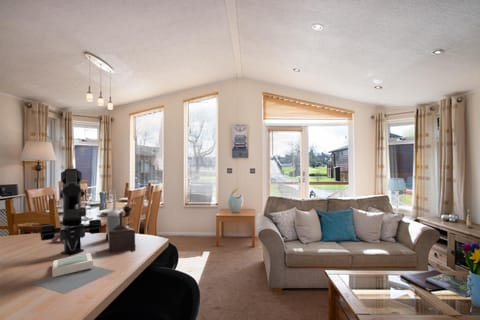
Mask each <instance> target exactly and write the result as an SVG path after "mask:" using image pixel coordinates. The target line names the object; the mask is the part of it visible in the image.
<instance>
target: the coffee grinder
mask: <svg viewBox="0 0 480 320" xmlns="http://www.w3.org/2000/svg"><path fill="white" fill-rule="evenodd" d="M132 210H133V207H132V206H131V205H127V206H126V205H125V206H124V207H123V211H124V215H123V213H122V212H121V213H119V215H120V216H119V218H120V224H119V225H117V226H115V227H114V228H108V241H107V242H108V244H107V245H108V246H107V250H108V252H109V254H114V253H121V252H126V251H129V252H135V251H136V230H135V228H134V227H133V225H132V224H130V222H129V223H128V224H127V223H123V219H124V218H128V217H130V216H131V214H132V213H131V212H132Z"/></svg>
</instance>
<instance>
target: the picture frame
mask: <svg viewBox="0 0 480 320" xmlns="http://www.w3.org/2000/svg"><path fill="white" fill-rule="evenodd" d="M93 266H94V261H93V257H92V253H90V252H89V253H83V254H80V255H79V254H78V255H74V256H70V257H63V258H60V259H56V260H53V264H52V268H51V270H52V272H51V273H52V275H53V277H56V276H60V275H64V274H68V273H72V272H77V271H81V270H85V269H89V268H93Z"/></svg>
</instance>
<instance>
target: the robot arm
mask: <svg viewBox="0 0 480 320" xmlns="http://www.w3.org/2000/svg"><path fill="white" fill-rule="evenodd" d="M82 175H83V174H82V171H80V170H78V168H74V167H73V168H66V169H64V171H62V172H60V182H61V183H62V189H60V190H59V191H60V192H59V198H60V200H62V202H63V203H62V207H63V209H62V210H63V211H62V225H60V227H55V224H53V223H52V224H44V225H41V227H40V230H39V231H40V232H39V235H40V240H41V241H43V242H44V241H50V240H51V241H52V239H53V238H54V237H55V234H60V238H61V242H63V243H64V244H63V247H64V250H63V251H61V252H60V254H62V255H67V256H72V255H74V254H78V253H81V252H83V251H85V249H83V248H82V244H81V242H82V241H81V239H82V238H85V237H86V231H88V233H89V234H90V235H95V234H100V233H101V231H102V220H101V219H98V218H97V219H90V220H89V221H88V223H86V224H85V223H82V218H84V217H86V215H87V209H86V206H81V200H82V198H83V197H84V196H86V195H85V192H86V191H84V190H83V188H81V182H82V181H83V180H82V179H83V176H82ZM62 240H64V241H62Z"/></svg>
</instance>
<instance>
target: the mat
mask: <svg viewBox="0 0 480 320" xmlns="http://www.w3.org/2000/svg"><path fill="white" fill-rule="evenodd" d="M115 272H116V270H113V269H109V268H105V267H100V266H96V265H93V268H89V269H85V270H81V271H77V272H72V273H68V274H64V275H60V276H56V277H53V274H52V275H49V276H47V277H44V278H41V279H39V280H35V281H33V282H31V284H32V285H35V286H38V287H42V288H43V289H47V290H48V289H49V290H52V291H54V292H57V293H59V294H64V295H65V294H69V293H71V292H72V291H75V290H78V289H79V288H81V287H84V286H86V285H88V284H90V283H92V282H95V281H97V280H99V279H101V278H104V277H106V276H108V275H110V274H112V273H115Z"/></svg>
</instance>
